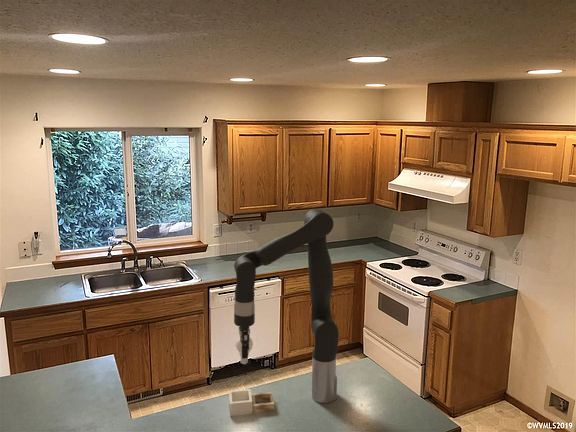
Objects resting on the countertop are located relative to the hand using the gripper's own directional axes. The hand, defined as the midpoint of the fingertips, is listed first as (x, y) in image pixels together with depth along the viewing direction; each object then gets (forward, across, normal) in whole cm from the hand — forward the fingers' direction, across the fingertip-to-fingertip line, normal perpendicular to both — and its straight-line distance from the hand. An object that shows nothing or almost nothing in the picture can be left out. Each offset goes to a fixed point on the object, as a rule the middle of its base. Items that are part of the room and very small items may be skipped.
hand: (244, 353), depth 171 cm
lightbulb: (+4, 0, 0) cm, 4 cm away
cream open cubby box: (+22, 0, +1) cm, 22 cm away
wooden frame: (+22, 0, -7) cm, 23 cm away
